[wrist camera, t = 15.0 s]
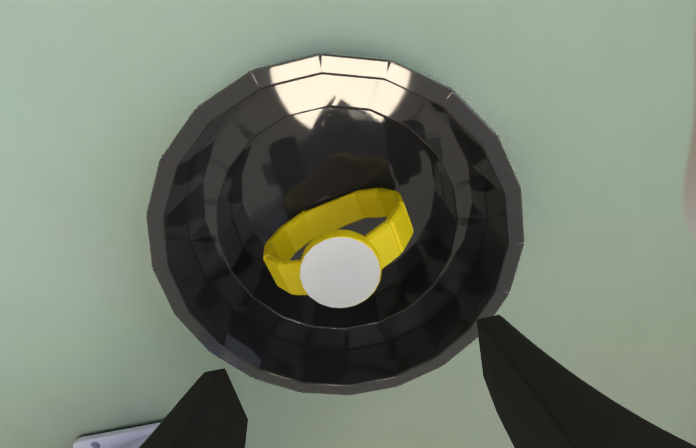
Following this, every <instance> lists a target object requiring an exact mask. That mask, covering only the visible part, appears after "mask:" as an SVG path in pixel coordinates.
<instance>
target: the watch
mask: <svg viewBox="0 0 696 448" xmlns="http://www.w3.org/2000/svg"><path fill="white" fill-rule="evenodd" d="M301 212H302V213H299V214H298V215H296V216H295V217H293V218H292V219H290V220H289V221H288V222H286V223H285V224H283V225H282V226H281V227H280V228H278V229H277V230H276V232H275V233H274V234H273V235H272V236H271V237H270V239H269V240H268V241H267V242H266V244H265V246H264V255H263V260H264V262H265V264H266V265H267V267H268V269H269V271H270V273H271V275H272V277H273V279H274V280H275V282H276V284H277V286H278V287H280V288H282V289H283V290H285V291H287V292H288V293H290V294H293V295H309V296H310V297H311V298H312V299H314V300H315V301H317V302H318V303H319V304H322V305H325V306H328V307H332V308H346V307H351V306H355V305H357V304H359V303H361V302H363V301H365V300H366V299H368V298H369V297H370V296H371V295H372V294H373V293H374V292H375V290H376V288H377V286H378V284H379V282H380V279H381V272H382V269H383V268H384V267H386V266H387V265H388V264H390V263H391V262H392V261H393V260H395V259H396V258H397V257H398V256H400V254H401V253H402V252H403V251H404V249H405V247H406V246H407V244H408V242H409V240H410V238H411V236H412V235H413V231H414V230H413V227H412V224H411V221H410V219H409V216H408V213H407V210H406V207H405V204H404V202H403V199H402V197H401V195H400V193H398V192H397V191H394V190H389V189H385V188H370V189H362V190H356V191H354V192H352V193H349V194H347V195H344V196H342V197H339V198H337V199H334V200H332V201H329V202H327V203H324V204H322V205H319V206H317V207H314V208H312V209H310V210H307V211H305V210H304V211H301ZM377 217H387V219H386V220H385V222H383V223H382V224H380V225H379V226H377V227H376V228H375V229H373V230H372V231H370V232H369V233H368V234H366V235H365V236H363V235H361V234H359V233H356V232H354V231H351V230H341V229H339V228H341V227H344V226H346V225H349V224H351V223H354V222H356V221H359V220H361V219H364V218H377ZM336 229H337V230H336ZM311 240H312V241H311ZM310 241H311V242H310ZM309 242H310V243H309ZM308 243H309V244H308ZM306 244H308V245H307V246H306V248H305V250H304V252H303V255H302V257H301V260H292V261H290V260H291V258H292V257H293V255H294V254H295V253H296V252H297V251H299V250H300V249H301V248H302V247H304V246H305V245H306Z"/></svg>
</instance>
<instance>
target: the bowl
mask: <svg viewBox="0 0 696 448" xmlns="http://www.w3.org/2000/svg"><path fill="white" fill-rule="evenodd" d="M370 188H385V189H389V190H394V191H397V192H398V193H400V195H401V197H402V199H403V202H404V204H405V207H406V210H407V213H408V216H409V219H410V221H411V224H412V227H413V230H414V231H413V235H412V236H411V238H410V240H409V242H408V244H407V246H406V247H405V249H404V251H403V252H402V253H401V254H400V256H398V257H397V258H396V259H395V260H393V261H392V262H391V263H390V264H388V265H387V266H386V267H384V268H383V269H382V272H381V279H380V282H379V284H378V286H377V288H376V290H375V292H374V293H373V294H372V295H371V296H370V297H369V298H368V299H366V300H365V301H363V302H361V303H359V304H357V305H355V306H351V307H346V308H332V307H328V306H325V305H322V304H319V303H318V302H317V301H315V300H314V299H312V298H311V297H310V296H309V295H293V294H290V293H288V292H287V291H285V290H283V289H282V288H280V287H278V286H277V284H276V282H275V280H274V279H273V277H272V275H271V273H270V271H269V269H268V267H267V265H266V264H265V262H264V260H263V255H264V246H265V244H266V242H267V241H268V240H269V239H270V237H271V236H272V235H273V234H274V233H275V232H276V230H277V229H278V228H280V227H281V226H282V225H283V224H285V223H286V222H288V221H289V220H290V219H292V218H293V217H295V216H296V215H298V214H299V213H302V212H301V211H304V210H305V211H307V210H310V209H312V208H314V207H317V206H319V205H322V204H324V203H327V202H329V201H332V200H334V199H337V198H339V197H342V196H344V195H347V194H349V193H352V192H354V191H356V190H362V189H370ZM386 219H387V217H377V218H364V219H361V220H359V221H356V222H354V223H351V224H349V225H346V226H344V227H341V228H339V229H341V230H351V231H354V232H356V233H359V234H361V235H363V236H365V235H366V234H368V233H369V232H370V231H372V230H373V229H375V228H376V227H377V226H379V225H380V224H382V223H383V222H385V220H386ZM147 224H148V233H149V242H150V251H151V259H152V267H153V270H154V272H155V274H156V277H157V279H158V281H159V283H160V285H161V287H162V289H163V291H164V293H165V295H166V297H167V299H168V301H169V304H170V306H171V308H172V310H173V312H174V314H175V315H176V316H177V317H178V318H179V320H180V321H181V322H182V323H183V324H184V325H185V326H186V327H187V328H188V329H189V330H190V331H191V332H192V333H193V335H194V336H195V337H196V338H197V339H198V340H199V341H200V342H201V343H202V344H203V345H204V346H205V347H206V348H207V350H208V351H211V353H212V354H214V355H216V356H217V357H219V358H221V359H222V360H224V361H226V362H227V363H229V364H231V365H232V366H234V367H235V368H237V369H239V370H240V371H242V372H244V373H245V374H247V375H249V376H250V377H253V378H254V379H258V380H261V381H264V382H268V383H271V384H274V385H277V386H281V387H284V388H287V389H291V390H294V391H297V392H300V391H301V392H302V393H319V394H338V395H349V394H350V395H354V394H359V393H364V392H370V391H375V390H381V389H386V388H392V387H397V386H400V385H402V384H404V383H406V382H409V381H411V380H413V379H415V378H417V377H420V376H422V375H424V374H426V373H428V372H431V371H433V370H435V369H437V368H439V367H442V365H445V364H446V363H447V362H448V361H450V360H451V359H452V358H453V357H454V356H456V355H457V354H458V353H459V352H460V351H462V350H463V349H464V348H465V347H467V346H468V345H469V344H470V343H471V342H473V341H474V340H475V339H476V338H478V337H479V336H478V328H477V320H476V319H480V318H486V317H491V316H494V315H495V314H496V312H497V311H498V309H499V308H500V306H501V305H502V303H503V302H504V300H505V299H506V297H507V296H508V295H509V292H510V290H511V287H512V283H513V280H514V276H515V273H516V269H517V266H518V262H519V259H520V256H521V252H522V249H523V245H524V243H523V242H524V231H523V214H522V198H521V189H520V185H519V182H518V180H517V178H516V176H515V173H514V171H513V169H512V167H511V164H510V162H509V160H508V158H507V155H506V153H505V151H504V149H503V146H502V144H501V142H500V140H499V138H498V136H497V135H496V133H495V132H494V131H493V130H492V129H491V128H490V127H489V126H488V125H487V124H486V123H485V122H484V121H483V120H482V119H481V118H480V117H479V115H478V114H477V113H476V112H475V111H474V110H473V109H472V108H471V107H470V106H469V105H468V104H467V103H466V102H465V101H464V100H463V99H462V98H461V97H460V96H459V95H458V94H457V93H456V92H455V91H454V90H452V89H451V88H449V87H447V86H445V85H443V84H441V83H439V82H437V81H434V80H432V79H430V78H428V77H426V76H424V75H422V74H420V73H417V72H415V71H413V70H411V69H409V68H407V67H405V66H403V65H400V64H398V63H396V62H394V61H392V60H387V59H381V58H373V57H363V56H353V55H343V54H332V53H318V54H314V55H310V56H306V57H302V58H298V59H294V60H290V61H286V62H282V63H278V64H273V65H269V66H265V67H261V68H257V69H254V70H253V71H249V72H248V73H246V74H245V75H243V76H242V77H240V78H239V79H237V80H236V81H234V82H233V83H232V84H230V85H229V86H227V87H226V88H224V89H223V90H221V91H220V92H218V93H217V94H215V95H214V96H212V97H211V98H209V99H208V100H206V101H205V102H203V103H202V104H200V105H199V106H198V107H197V108H196V109H195V110H194V111H193V113H192V114H191V116H190V117H189V118H188V120H187V121H186V123H185V124H184V125H183V127H182V128H181V130H180V131H179V133H178V134H177V135H176V137H175V138H174V140H173V141H172V142H171V144H170V145H169V147H168V148H167V150H166V151H165V152H164V154H163V155H162V157H161V159H160V162H159V165H158V169H157V173H156V177H155V181H154V185H153V189H152V193H151V197H150V201H149V205H148V209H147ZM336 230H337V229H336ZM311 241H312V240H311ZM311 241H310V242H311ZM310 242H309V243H310ZM309 243H308V244H309ZM308 244H306V245H305V246H304V247H302V248H301V249H300V250H299V251H297V252H296V253H295V254H294V255H293V257H292V258H291V260H290V261H292V260H301V257H302V255H303V252H304V250H305V248H306V246H307V245H308Z"/></svg>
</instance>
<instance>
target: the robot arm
mask: <svg viewBox="0 0 696 448" xmlns="http://www.w3.org/2000/svg"><path fill="white" fill-rule="evenodd" d="M476 320H477V328H478V336H479V344H480V352H481V360H482V368H483V376H484V379H485V381H486V384H487V387H488V390H489V392H490V395H491V398H492V400H493V403H494V406H495V408H496V411H497V413H498V415H499V417H500V419H501V421H502V423H503V425H504V427H505V429H506V431H507V433H508V435H509V437H510V439H511V441H512V443H513V445H514V447H515V448H696V446H694V445H692V444H690V443H688V442H686V441H684V440H682V439H680V438H678V437H676V436H674V435H672V434H670V433H668V432H667V431H665V430H663V429H661V428H659V427H657V426H655V425H654V424H652V423H650V422H648V421H646V420H645V419H643V418H641V417H639V416H638V415H636V414H634V413H633V412H631V411H629V410H628V409H626V408H624V407H623V406H621V405H619V404H618V403H616V402H614V401H613V400H611V399H610V398H608V397H607V396H605V395H604V394H602V393H600V392H599V391H597V390H596V389H594V388H593V387H591V386H590V385H589V384H587V383H586V382H584V381H583V380H581V379H580V378H578V377H577V376H576V375H574V374H573V373H571V372H570V371H569V370H567V369H566V368H564V367H563V366H562V365H561V364H559V363H558V362H557V361H555V360H554V359H553V358H551V357H550V356H549V355H547V354H546V353H545V352H543V351H542V350H541V349H540V348H538V347H537V346H536V345H535V344H533V343H532V342H531V341H530V340H529V339H527V338H526V337H525V336H524V335H523V334H521V333H520V332H519V331H518V330H517V329H516V328H514V327H513V326H512V325H511V324H510V323H509V322H507V321H506V320H505V319H504V318H503V317H501V316H500V315H496V316H491V317H486V318H480V319H476ZM247 423H248V419H247V416H246V414H245V412H244V410H243V408H242V405H241V403H240V401H239V399H238V397H237V394H236V392H235V390H234V388H233V385H232V383H231V381H230V379H229V377H228V374H227V372H226V370H225V368H224V369H219V370H214V371H209V372H205V373H204V374H203V375H202V376H201V377H200V378H199V379H198V380H197V381H196V382H195V384H194V385H193V386H192V387H191V388H190V389H189V390H188V392H187V393H186V394H185V395H184V396H183V398H182V399H181V400H180V401H179V402H178V403H177V405H176V406H175V407H174V408H173V409H172V411H171V412H170V413H169V414H168V415H167V416H166V417H165V419H164V420H163V421H162V422H160V423H154V424H149V425H144V426H138V427H133V428H127V429H122V430H117V431H111V432H106V433H101V434H95V435H90V436H84V437H79V438H77V439H76V440H75V442H74V443H73V446H72V447H73V448H245V441H246V432H247Z"/></svg>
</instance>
